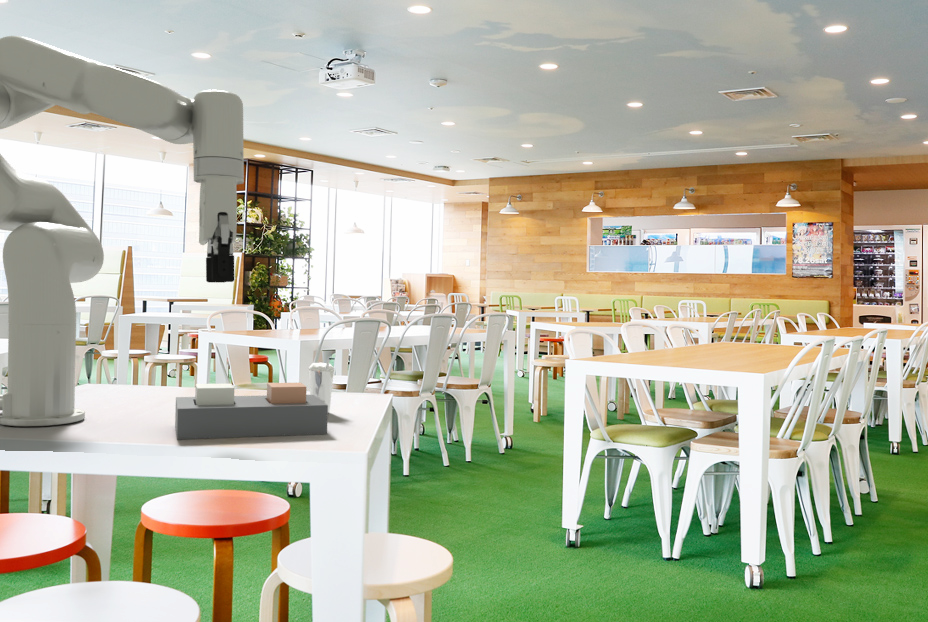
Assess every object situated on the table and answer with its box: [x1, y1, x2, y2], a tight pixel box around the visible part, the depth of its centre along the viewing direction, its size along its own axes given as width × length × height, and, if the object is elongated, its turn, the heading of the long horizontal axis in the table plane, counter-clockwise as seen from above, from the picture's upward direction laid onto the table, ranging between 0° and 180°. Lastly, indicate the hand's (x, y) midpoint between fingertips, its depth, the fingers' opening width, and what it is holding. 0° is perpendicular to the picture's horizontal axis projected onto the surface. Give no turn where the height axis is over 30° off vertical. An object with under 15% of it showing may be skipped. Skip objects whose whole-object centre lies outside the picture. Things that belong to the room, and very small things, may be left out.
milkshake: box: [308, 358, 335, 414], centre depth 143 cm, size 4×5×10 cm
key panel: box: [174, 394, 329, 440], centre depth 125 cm, size 22×12×4 cm, turn 111°
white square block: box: [194, 383, 235, 405], centre depth 123 cm, size 5×5×4 cm
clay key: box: [266, 382, 307, 404], centre depth 127 cm, size 5×5×4 cm
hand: (219, 282), depth 124 cm, fingers open, 9 cm apart
